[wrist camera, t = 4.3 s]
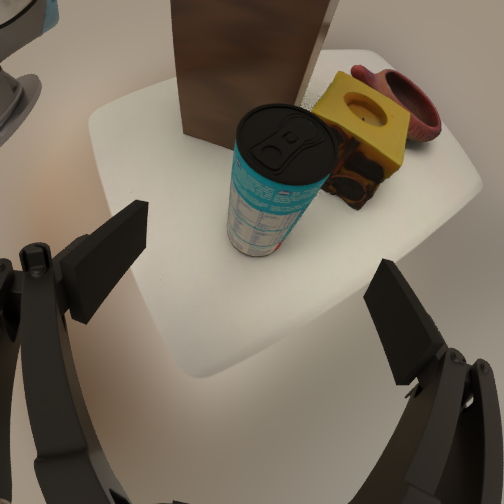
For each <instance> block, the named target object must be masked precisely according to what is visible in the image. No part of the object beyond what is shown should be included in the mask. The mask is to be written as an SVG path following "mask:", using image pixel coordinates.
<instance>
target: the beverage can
mask: <svg viewBox="0 0 504 504" xmlns="http://www.w3.org/2000/svg"><path fill="white" fill-rule="evenodd" d="M338 157H339V147H338V143H337V140H336V137H335V135H334V133H333V132H332V130H331V129H330V128H329V126H328V125H327V124H326V123H325V122H324V121H323V120H322V119H320V118H319V117H318V116H316V115H315V114H313V113H312V112H310V111H308V110H306V109H303V108H301V107H298V106H294V105H290V104H283V103H272V104H265V105H261V106H258V107H256V108H254V109H252V110H250V111H249V112H248V113H246V114H245V115H244V116H243V117H242V119H241V120H240V122H239V124H238V126H237V130H236V139H235V148H234V156H233V166H232V176H231V186H230V198H229V211H228V223H227V232H228V236H229V238H230V240H231V242H232V243H233V245H234V246H235V247H236V248H237V249H238V250H240V251H241V252H243V253H245V254H247V255H251V256H264V255H268V254H270V253H272V252H274V251H275V250H276V249H277V248H278V247H279V246H280V245H281V244H282V242H283V241H284V239H285V238H286V237H287V235H288V234H289V232H290V231H291V230H292V228H293V227H294V225H295V224H296V223H297V221H298V220H299V218H300V217H301V216H302V214H303V213H304V211H305V210H306V208H307V207H308V206H309V204H310V203H311V201H312V200H313V198H314V197H315V195H316V194H317V193H318V191H319V190H320V188H321V187H322V185H323V184H324V182H325V181H326V179H327V178H328V176H329V174H330V173H331V172H332V170H333V169H334V167H335V166H336V163H337V161H338Z"/></svg>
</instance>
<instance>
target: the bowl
mask: <svg viewBox="0 0 504 504" xmlns="http://www.w3.org/2000/svg"><path fill="white" fill-rule="evenodd" d="M351 75H352V77H353V78H355V79H357V80H359V81H361V82H363V83H364V84H366V85H367V86H369V87H371V88H373V89H374V90H376V91H378V92H379V93H381V94H383V95H384V96H386V97H388V98H389V99H391V100H392V101H394V102H395V103H397V104H398V105H400V106H401V107H403V108H404V109H405V110H407V111H408V112H409V113H410V121H409V126H408V132H407V138H406V139H409V140H412V141H415V142H428V141H431V140H433V139H435V138H436V137H437V136H438V135H439V134H440V132H441V129H442V128H441V120H440V117H439V114H438V112H437V110H436V108H435V106H434V105H433V103H432V102H431V101H430V99H429V98H428V97H427V96H426V94H424V92H423V91H422V90H421V89H420V88H419V87H418V86H416V85H415V84H414V83H413V82H412V81H411V80H409V79H408V78H407V77H405V76H404V75H402V74H401V73H399V72H397V71H394V70H391V69H385V70H383V71H381V72H380V73H377V74H373V73H372V72H370V71H369V70H368V69H367V68H365V67H364V66H361V65H354V66H353V67H352V68H351Z"/></svg>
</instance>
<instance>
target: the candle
mask: <svg viewBox="0 0 504 504" xmlns="http://www.w3.org/2000/svg"><path fill="white" fill-rule="evenodd" d="M311 112H312V113H313V114H315V115H316V116H318V117H319V118H320V119H322V120H323V121H324V122H325V123H326V124H327V125H328V126H329V128H330V129H331V130H332V132H333V133H334V135H335V137H336V140H337V143H338V147H339V157H338V161H337V163H336V166H335V167H334V169H333V170H332V172H331V173H330V174H329V176H328V178H327V179H326V181H325V182H324V184H323V185H322V187H321V188H322V189H324V190H325V191H328V192H330V193H331V194H336V195H339V196H340V197H341V198H342V199H344V200H345V201H346V202H347V203H348V204H349V205H351V206H352V207H353V208H355V209H357V210H359V209H361V207H362V206H363V205H364V204H365V203H366V202H367V200H369V199H370V198H372V197H373V195H374V193H375V192H376V190H377V188H378V187H379V185H380V183H382V182H383V181H384V180H385V179H388V178H390V176H391V175H392V174H393V173H395V172H396V171H398V170H399V168H400V167H401V165H402V163H403V158H404V151H405V145H406V138H407V132H408V126H409V121H410V113H409V112H408V111H407V110H405V109H404V108H403V107H401V106H400V105H398V104H397V103H395V102H394V101H392V100H391V99H389V98H388V97H386V96H384V95H383V94H381V93H379V92H378V91H376V90H374V89H373V88H371V87H369V86H367V85H366V84H364V83H363V82H361V81H359V80H357V79H355V78H353V77H352V76H350V75H348V74H346V73H344V72H342V71H338V73H337V74H336V76H335V78H334V80H333V82H332V83H331V84H330V85H329V87H328V89H327V90H326V92H325V93H324V95H323V96H322V97H321V98H320V99H319V101H318V102H317V103H316V104H315V106H314V107H313V109H312V111H311Z"/></svg>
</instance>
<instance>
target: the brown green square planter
mask: <svg viewBox="0 0 504 504" xmlns="http://www.w3.org/2000/svg"><path fill="white" fill-rule="evenodd" d="M170 2H171V18H172V32H173V45H174V56H175V67H176V76H177V85H178V94H179V102H180V110H181V118H182V125H183V133H184V134H187V135H190V136H193V137H196V138H199V139H202V140H205V141H208V142H211V143H214V144H217V145H220V146H223V147H226V148H229V149H232V150H234V148H235V139H236V130H237V126H238V124H239V122H240V120H241V119H242V117H243V116H244V115H245V114H246V113H248V112H249V111H250V110H252V109H254V108H256V107H258V106H261V105H265V104H272V103H283V104H290V105H294V106H298V107H300V105H301V103H302V100H303V97H304V95H305V92H306V89H307V86H308V84H309V81H310V78H311V75H312V73H313V70H314V67H315V65H316V62H317V59H318V56H319V54H320V51H321V48H322V45H323V43H324V40H325V37H326V35H327V32H328V29H329V27H330V24H331V21H332V19H333V16H334V13H335V10H336V8H337V5H338V2H339V0H170Z"/></svg>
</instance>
